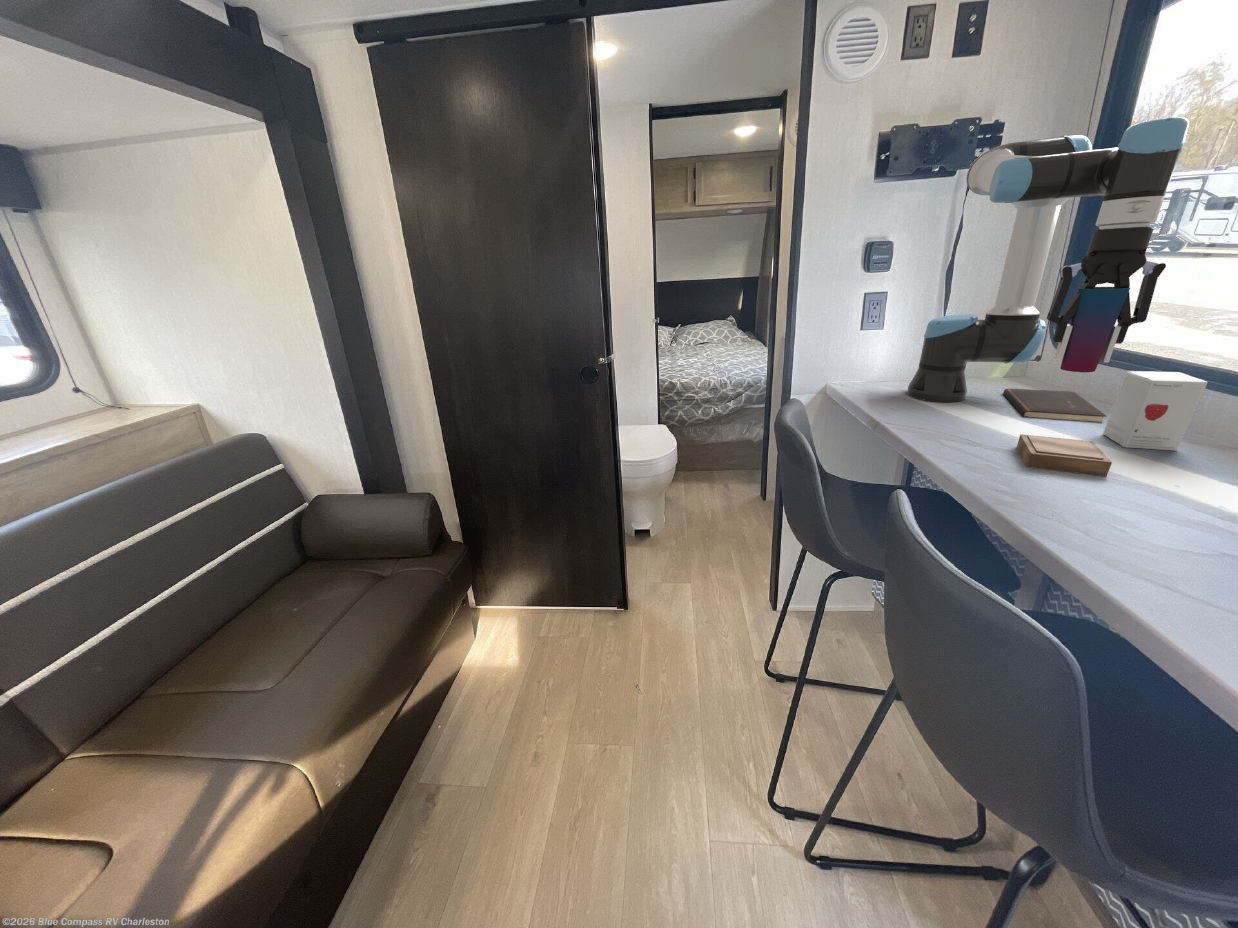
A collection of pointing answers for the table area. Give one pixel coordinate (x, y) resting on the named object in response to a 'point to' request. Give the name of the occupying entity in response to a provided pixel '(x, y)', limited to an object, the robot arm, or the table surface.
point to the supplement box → (1154, 409)
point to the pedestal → (1063, 455)
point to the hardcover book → (1053, 405)
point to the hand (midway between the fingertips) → (1080, 360)
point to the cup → (1092, 327)
